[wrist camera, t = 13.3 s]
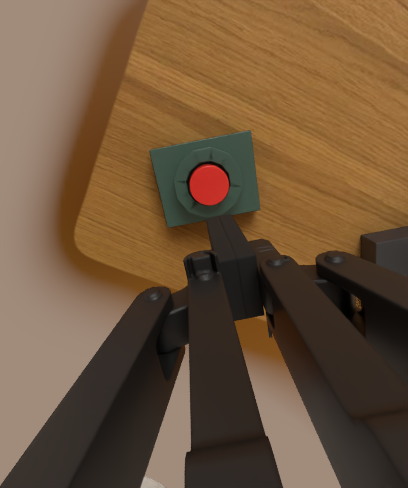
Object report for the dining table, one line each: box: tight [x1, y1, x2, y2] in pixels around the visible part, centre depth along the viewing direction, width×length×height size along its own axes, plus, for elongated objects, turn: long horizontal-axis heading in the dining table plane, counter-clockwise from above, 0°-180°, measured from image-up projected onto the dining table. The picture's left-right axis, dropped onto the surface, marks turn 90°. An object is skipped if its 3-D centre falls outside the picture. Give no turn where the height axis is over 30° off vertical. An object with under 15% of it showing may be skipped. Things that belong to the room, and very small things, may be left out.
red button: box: [190, 164, 229, 205], centre depth 28 cm, size 4×4×2 cm
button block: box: [150, 130, 260, 228], centre depth 30 cm, size 10×8×4 cm
